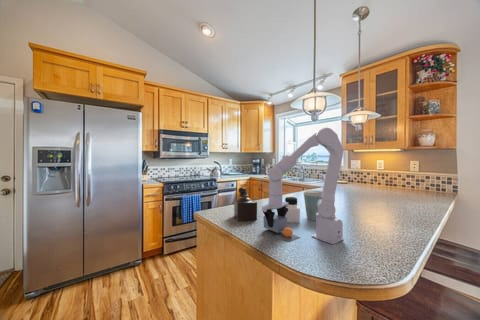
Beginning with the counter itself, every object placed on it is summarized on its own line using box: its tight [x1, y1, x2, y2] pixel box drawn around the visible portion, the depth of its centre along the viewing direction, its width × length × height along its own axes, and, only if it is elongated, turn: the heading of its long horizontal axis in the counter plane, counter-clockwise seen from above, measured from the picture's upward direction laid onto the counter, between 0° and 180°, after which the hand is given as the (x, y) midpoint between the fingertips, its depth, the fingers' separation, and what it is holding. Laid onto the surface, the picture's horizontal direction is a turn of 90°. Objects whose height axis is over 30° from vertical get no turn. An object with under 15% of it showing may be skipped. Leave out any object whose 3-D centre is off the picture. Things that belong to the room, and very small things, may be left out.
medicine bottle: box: [284, 196, 301, 223], centre depth 104 cm, size 7×7×12 cm
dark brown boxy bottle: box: [233, 186, 258, 222], centre depth 106 cm, size 16×11×18 cm
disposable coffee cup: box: [303, 189, 322, 221], centre depth 107 cm, size 11×11×15 cm
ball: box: [282, 226, 294, 237], centre depth 83 cm, size 4×4×4 cm
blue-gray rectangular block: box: [263, 213, 288, 234], centre depth 89 cm, size 9×6×5 cm
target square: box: [275, 232, 301, 243], centre depth 83 cm, size 7×7×1 cm
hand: (275, 225), depth 88 cm, fingers closed on blue-gray rectangular block, 6 cm apart
